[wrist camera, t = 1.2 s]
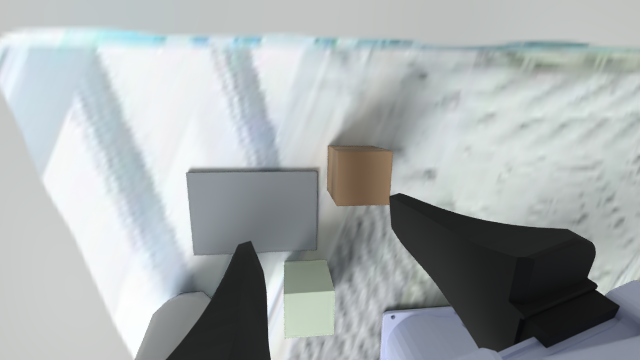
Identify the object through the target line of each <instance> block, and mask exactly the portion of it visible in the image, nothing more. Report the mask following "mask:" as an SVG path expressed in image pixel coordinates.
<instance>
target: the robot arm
mask: <svg viewBox="0 0 640 360" xmlns="http://www.w3.org/2000/svg"><path fill="white" fill-rule="evenodd" d="M389 202H390V215H391V227H392V229H393V231H394V233H395V234H396V236H397V237H398V239H399V240H400V242H401V243H402V244H403V246H404V247H405V248H406V249H407V250H408V251H409V253H410V254H411V255H412V256H413V257H414V258H415V259H416V261H417V262H418V263H419V264H420V265H421V266H422V268H423V269H424V270H425V271H426V272H427V273H428V274H429V276H430V277H431V278H432V279H433V281H434V282H435V283H436V284H437V286H438V287H439V289H440V290H441V291H442V293H443V294H444V296H445V297H446V299H447V300H448V301H449V303H450V304H451V306H448V307H435V308H422V309H409V310H395V311H386V312H384V314H383V318H382V333H381V347H380V360H640V282H639V281H637V280H633V281H631V282H629V283H626V284H624V285H622V286H619V287H617V288H615V289H613V290H611V291H609V292H608V293H607V294H606V295H605V296H604V295H602V294H601V293H599V292H598V291H596V290H595V289H597V287H598V286H597V284H596V283H594V282H593V281H591V280H590V279H588V278H587V277H588V274H589V272H590V269H591V267H592V264H593V262H594V258H595V255H596V251H595V246H594V245H593V243H592V242H590V241H589V240H587V239H585V238H583V237H581V236H579V235H578V234H576V233H574V232H572V231H570V230H568V229H557V228H537V227H527V226H517V225H510V224H503V223H497V222H491V221H486V220H481V219H477V218H473V217H469V216H465V215H461V214H458V213H454V212H451V211H448V210H445V209H442V208H439V207H436V206H433V205H431V204H428V203H425V202H423V201H420V200H418V199H415V198H412V197H410V196H407V195H404V194H401V193H398V194H395V195H392V196H389ZM392 315H394V316H393V317H391V316H392ZM166 360H271V358H270V351H269V341H268V318H267V292H266V285H265V278H264V272H263V269H262V267H261V264H260V262H259V259H258V257H257V254H256V252H255V249H254V247H253V244H252V242H251V241H248V242H245V243H241V244H238V246H237V248H236V250H235V252H234V255H233V257H232V260H231V262H230V264H229V266H228V268H227V270H226V273H225V275H224V277H223V279H222V281H221V283H220V285H219V286H218V288H217V290H216V292H215V294H214V295H213V297H212V299H211V301H210V302H209V304H208V305H207V307H206V309H205V310H204V312H203V313H202V315H201V316H200V318H199V319H198V320H197V322H196V323H195V324H194V326H193V327H192V328H191V330H190V331H189V332H188V334H187V335H186V336H185V337H184V339H183V340H182V341H181V342H180V344H179V345H178V346H177V347H176V348H175V349H174V351H173V352H172V353H171V354H170V355H169V356H168V357H167V359H166Z"/></svg>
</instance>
